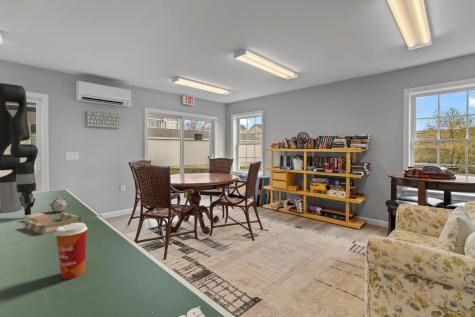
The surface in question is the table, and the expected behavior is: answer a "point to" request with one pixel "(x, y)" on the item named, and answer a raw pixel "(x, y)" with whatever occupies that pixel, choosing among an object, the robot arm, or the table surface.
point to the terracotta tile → (41, 219)
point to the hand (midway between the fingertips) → (27, 215)
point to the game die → (58, 205)
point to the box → (52, 227)
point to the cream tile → (32, 216)
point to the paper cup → (72, 249)
